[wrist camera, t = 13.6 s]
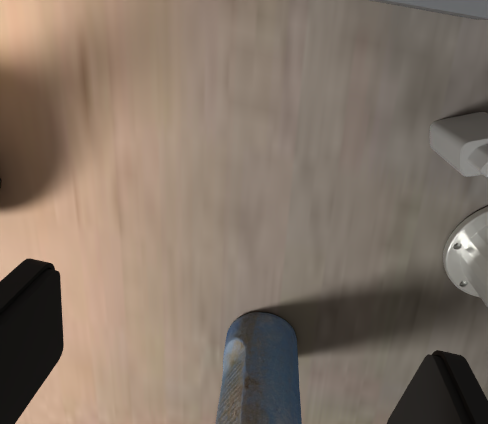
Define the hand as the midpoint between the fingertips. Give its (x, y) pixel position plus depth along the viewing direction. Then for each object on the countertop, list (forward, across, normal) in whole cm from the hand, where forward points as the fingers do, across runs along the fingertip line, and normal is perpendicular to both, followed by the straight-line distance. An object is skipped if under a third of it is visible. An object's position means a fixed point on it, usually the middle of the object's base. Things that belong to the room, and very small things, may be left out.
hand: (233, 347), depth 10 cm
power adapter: (+32, -18, -1) cm, 37 cm away
